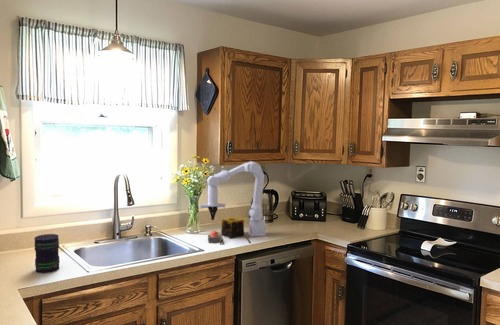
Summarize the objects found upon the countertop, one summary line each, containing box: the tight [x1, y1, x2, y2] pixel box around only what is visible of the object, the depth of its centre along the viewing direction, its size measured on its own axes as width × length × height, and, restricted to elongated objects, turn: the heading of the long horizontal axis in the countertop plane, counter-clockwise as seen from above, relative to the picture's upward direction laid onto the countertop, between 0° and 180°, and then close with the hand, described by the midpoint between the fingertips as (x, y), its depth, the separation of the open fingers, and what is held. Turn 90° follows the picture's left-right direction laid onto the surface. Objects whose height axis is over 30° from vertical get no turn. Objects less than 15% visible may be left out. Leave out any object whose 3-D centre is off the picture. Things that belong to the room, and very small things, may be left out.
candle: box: [220, 216, 245, 239], centre depth 248 cm, size 10×10×10 cm
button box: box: [207, 234, 222, 244], centre depth 236 cm, size 7×7×3 cm
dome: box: [210, 230, 219, 237], centre depth 236 cm, size 4×4×5 cm
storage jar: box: [34, 233, 60, 274], centre depth 186 cm, size 10×10×15 cm
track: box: [216, 231, 252, 246], centre depth 243 cm, size 17×25×1 cm
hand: (212, 219), depth 244 cm, fingers closed
